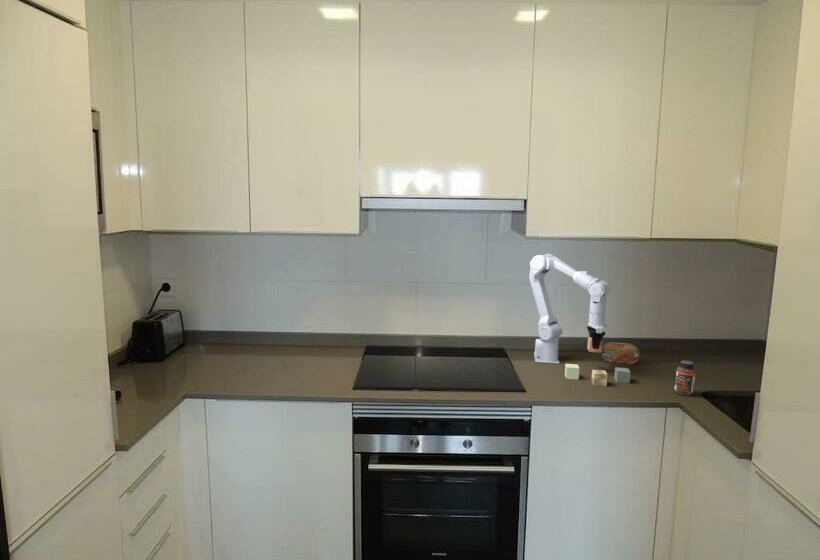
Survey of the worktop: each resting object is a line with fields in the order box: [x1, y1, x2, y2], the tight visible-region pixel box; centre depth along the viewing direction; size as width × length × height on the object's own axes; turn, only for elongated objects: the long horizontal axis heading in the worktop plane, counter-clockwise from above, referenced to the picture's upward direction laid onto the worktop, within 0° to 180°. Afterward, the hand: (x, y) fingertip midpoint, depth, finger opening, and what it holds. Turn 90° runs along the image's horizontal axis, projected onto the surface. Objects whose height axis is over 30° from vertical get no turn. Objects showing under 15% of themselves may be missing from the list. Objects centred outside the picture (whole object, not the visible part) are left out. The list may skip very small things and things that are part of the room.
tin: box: [600, 341, 641, 365], centre depth 219 cm, size 15×3×8 cm, turn 72°
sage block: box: [564, 363, 580, 381], centre depth 199 cm, size 4×4×4 cm
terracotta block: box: [586, 337, 603, 353], centre depth 205 cm, size 4×4×4 cm
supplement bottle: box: [674, 360, 697, 397], centre depth 185 cm, size 6×6×11 cm
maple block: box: [590, 369, 608, 387], centre depth 193 cm, size 4×4×4 cm
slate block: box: [613, 366, 631, 384], centre depth 197 cm, size 4×4×4 cm
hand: (594, 346), depth 206 cm, fingers closed on terracotta block, 4 cm apart
